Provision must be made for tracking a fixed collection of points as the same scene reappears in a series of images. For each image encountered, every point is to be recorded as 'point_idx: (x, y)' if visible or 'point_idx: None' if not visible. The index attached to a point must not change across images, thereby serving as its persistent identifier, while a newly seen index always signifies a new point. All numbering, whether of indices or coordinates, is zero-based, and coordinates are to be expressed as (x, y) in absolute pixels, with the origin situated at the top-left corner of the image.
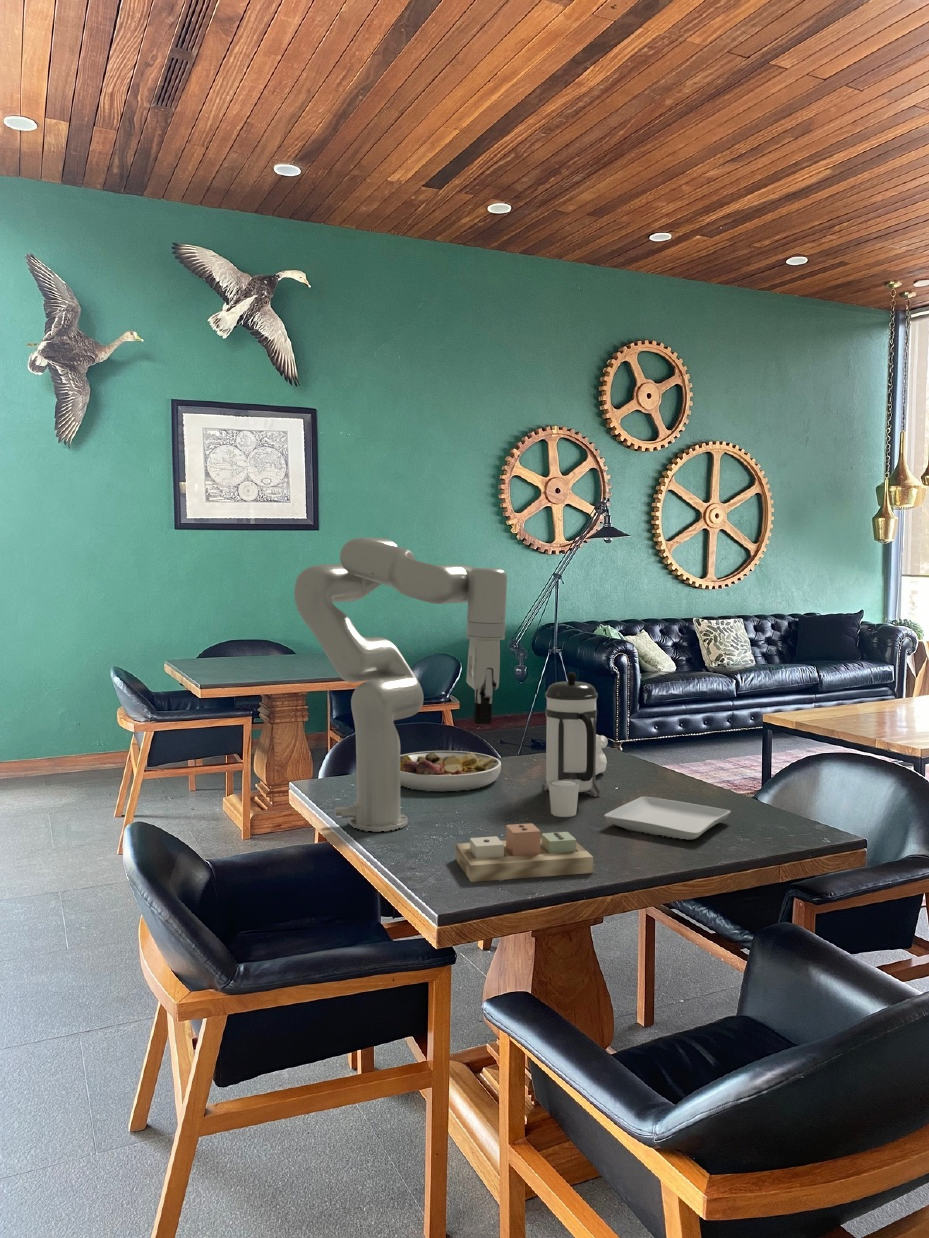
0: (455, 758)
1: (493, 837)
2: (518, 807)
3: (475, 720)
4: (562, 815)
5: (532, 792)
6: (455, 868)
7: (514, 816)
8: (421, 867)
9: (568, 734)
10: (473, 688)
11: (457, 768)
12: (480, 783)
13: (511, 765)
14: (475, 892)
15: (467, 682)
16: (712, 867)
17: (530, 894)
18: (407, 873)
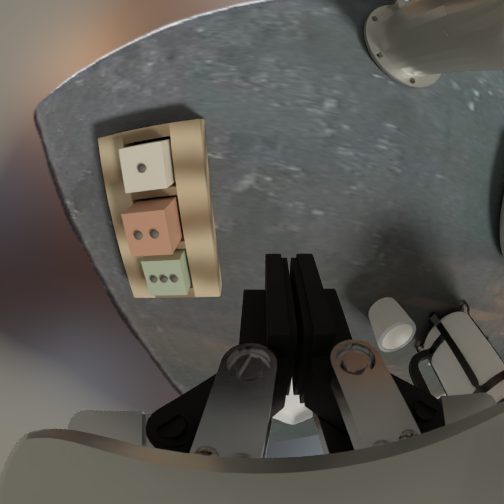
0: None
1: (161, 181)
2: (427, 264)
3: (266, 260)
4: (371, 307)
5: (464, 290)
6: (162, 116)
7: (396, 250)
8: (173, 68)
9: (462, 379)
10: (73, 439)
11: None
12: (500, 239)
13: None
14: (78, 142)
15: (501, 423)
16: (165, 376)
17: (74, 204)
18: (151, 51)
